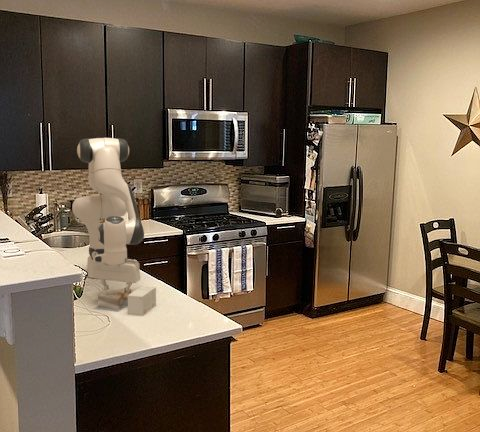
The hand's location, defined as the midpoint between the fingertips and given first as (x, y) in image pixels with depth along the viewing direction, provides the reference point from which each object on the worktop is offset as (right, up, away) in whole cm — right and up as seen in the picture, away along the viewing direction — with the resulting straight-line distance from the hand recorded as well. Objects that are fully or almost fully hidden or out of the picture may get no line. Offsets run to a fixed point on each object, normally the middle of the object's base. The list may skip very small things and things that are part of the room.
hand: (116, 290), depth 210 cm
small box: (+13, -2, 0) cm, 13 cm away
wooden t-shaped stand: (0, -5, +1) cm, 5 cm away
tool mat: (+1, -6, +2) cm, 6 cm away
